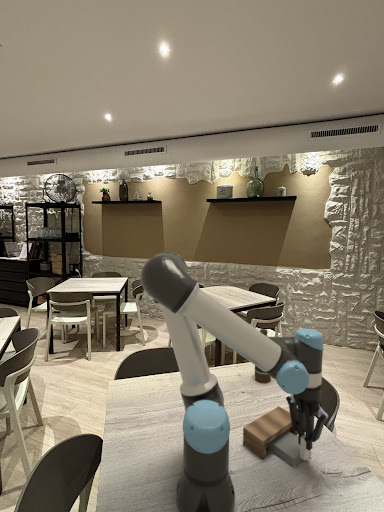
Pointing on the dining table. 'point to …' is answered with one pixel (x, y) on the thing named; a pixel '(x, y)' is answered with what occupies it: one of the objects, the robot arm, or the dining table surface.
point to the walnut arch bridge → (266, 430)
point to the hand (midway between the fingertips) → (304, 456)
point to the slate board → (286, 448)
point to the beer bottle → (259, 373)
